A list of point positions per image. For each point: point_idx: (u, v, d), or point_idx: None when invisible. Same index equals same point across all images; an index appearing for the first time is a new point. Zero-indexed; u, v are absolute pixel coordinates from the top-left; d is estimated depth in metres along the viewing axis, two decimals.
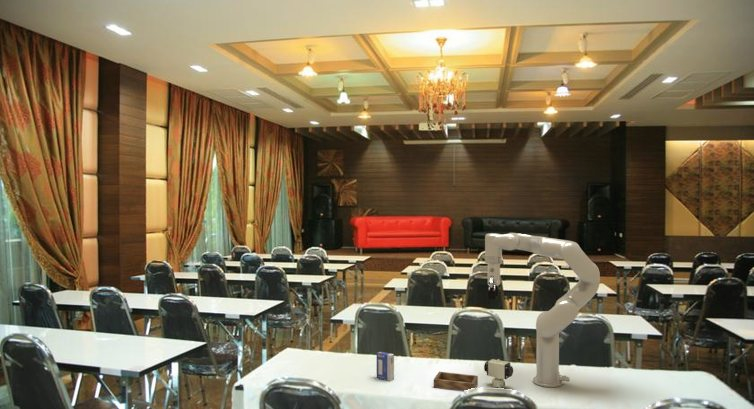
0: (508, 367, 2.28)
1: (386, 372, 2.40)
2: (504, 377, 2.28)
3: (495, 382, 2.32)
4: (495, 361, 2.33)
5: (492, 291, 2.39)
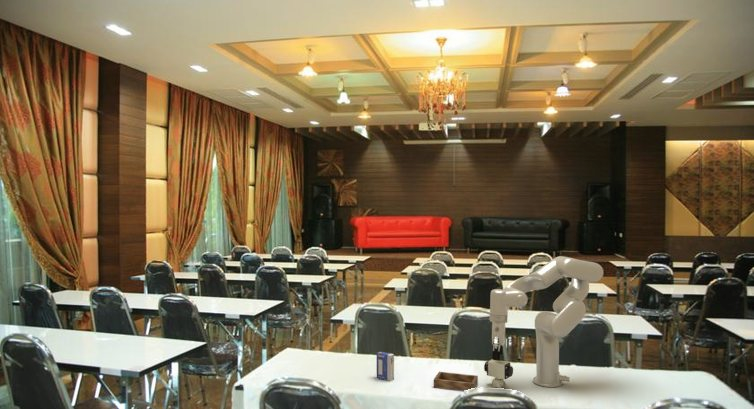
0: (508, 367, 2.28)
1: (386, 372, 2.40)
2: (504, 377, 2.28)
3: (495, 382, 2.32)
4: (495, 361, 2.33)
5: (496, 352, 2.27)
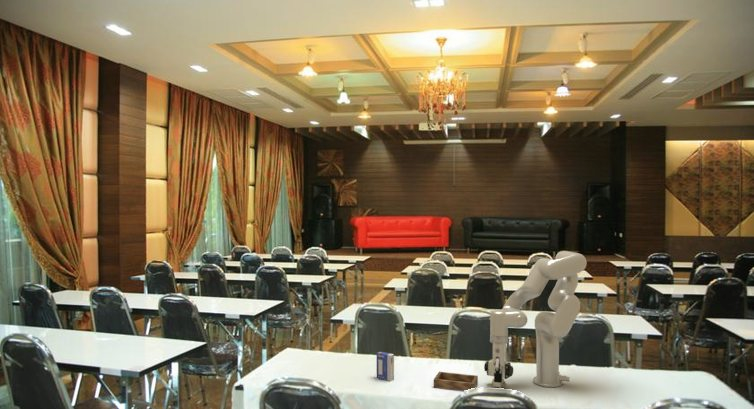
0: (508, 367, 2.29)
1: (386, 372, 2.40)
2: (504, 377, 2.28)
3: (495, 382, 2.32)
4: None
5: (498, 374, 2.28)
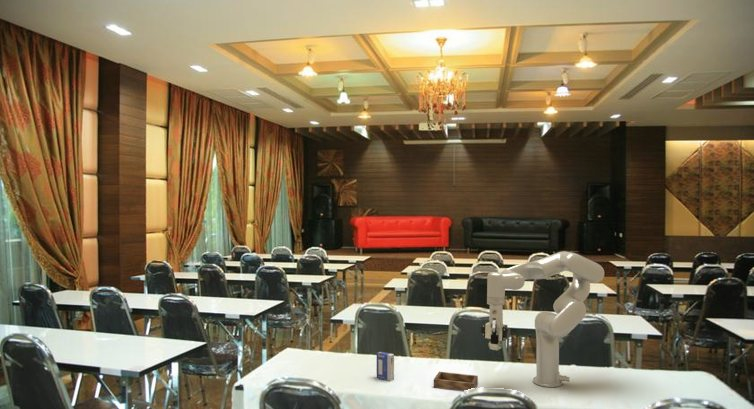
0: (506, 329, 2.29)
1: (386, 372, 2.40)
2: (501, 339, 2.28)
3: (492, 344, 2.31)
4: None
5: (494, 335, 2.29)
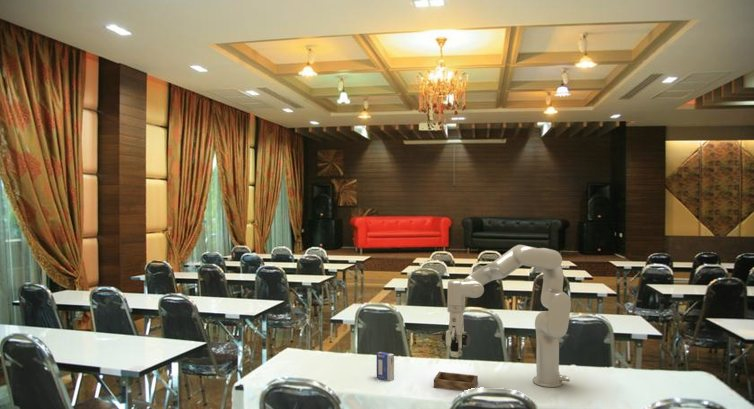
0: (465, 336, 2.30)
1: (386, 372, 2.40)
2: (461, 346, 2.29)
3: (452, 351, 2.33)
4: None
5: (454, 343, 2.30)
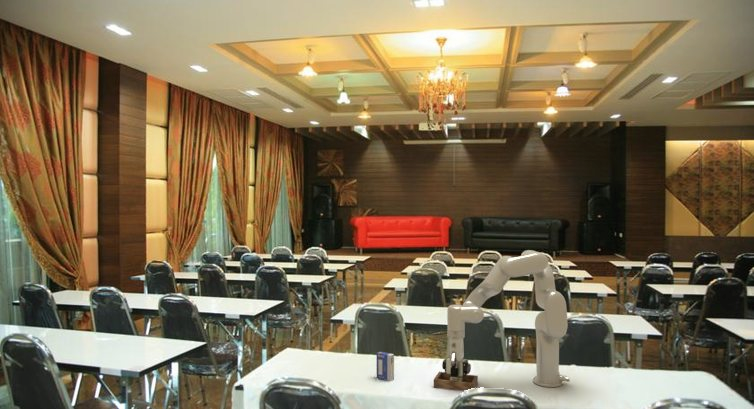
0: (466, 364, 2.30)
1: (386, 372, 2.40)
2: (462, 374, 2.30)
3: (453, 379, 2.33)
4: None
5: (454, 368, 2.29)
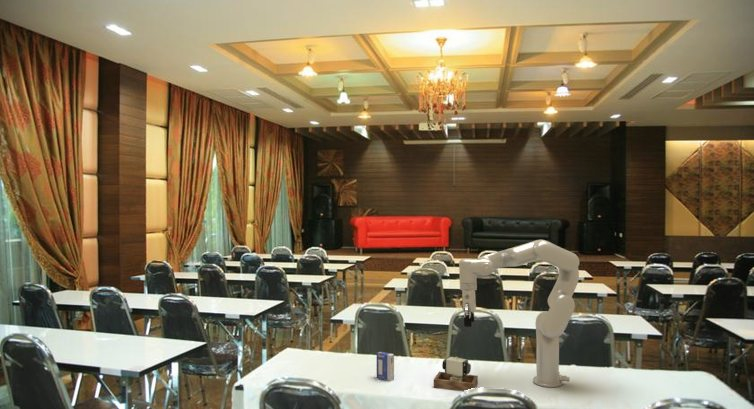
0: (466, 364, 2.30)
1: (386, 372, 2.40)
2: (462, 374, 2.30)
3: (453, 379, 2.33)
4: (453, 359, 2.34)
5: (468, 318, 2.35)
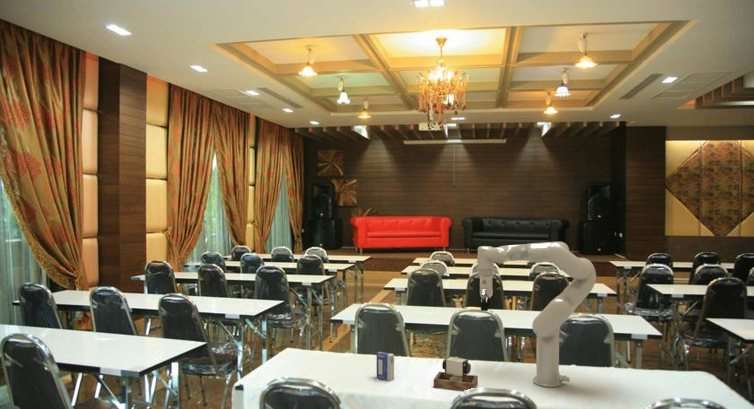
0: (466, 364, 2.30)
1: (386, 372, 2.40)
2: (462, 374, 2.30)
3: (453, 379, 2.33)
4: (453, 359, 2.34)
5: (484, 303, 2.46)
